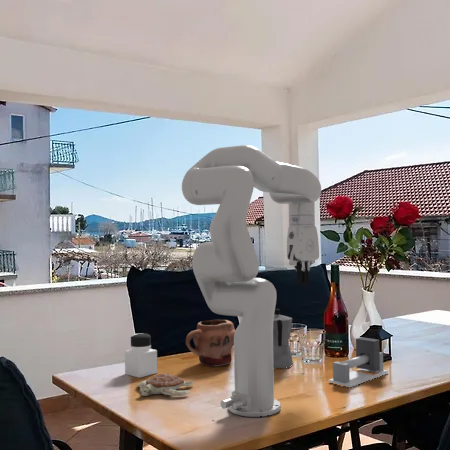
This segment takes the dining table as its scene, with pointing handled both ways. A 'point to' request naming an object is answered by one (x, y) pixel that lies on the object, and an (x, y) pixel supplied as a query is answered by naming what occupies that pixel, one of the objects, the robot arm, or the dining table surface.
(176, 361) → the dining table surface
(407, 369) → the dining table surface
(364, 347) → the dark grey sliding block
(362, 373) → the pipe rig
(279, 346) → the coffeepot
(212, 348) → the brown clay mug
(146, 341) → the medicine bottle
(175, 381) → the decorative turtle
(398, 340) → the dining table surface
